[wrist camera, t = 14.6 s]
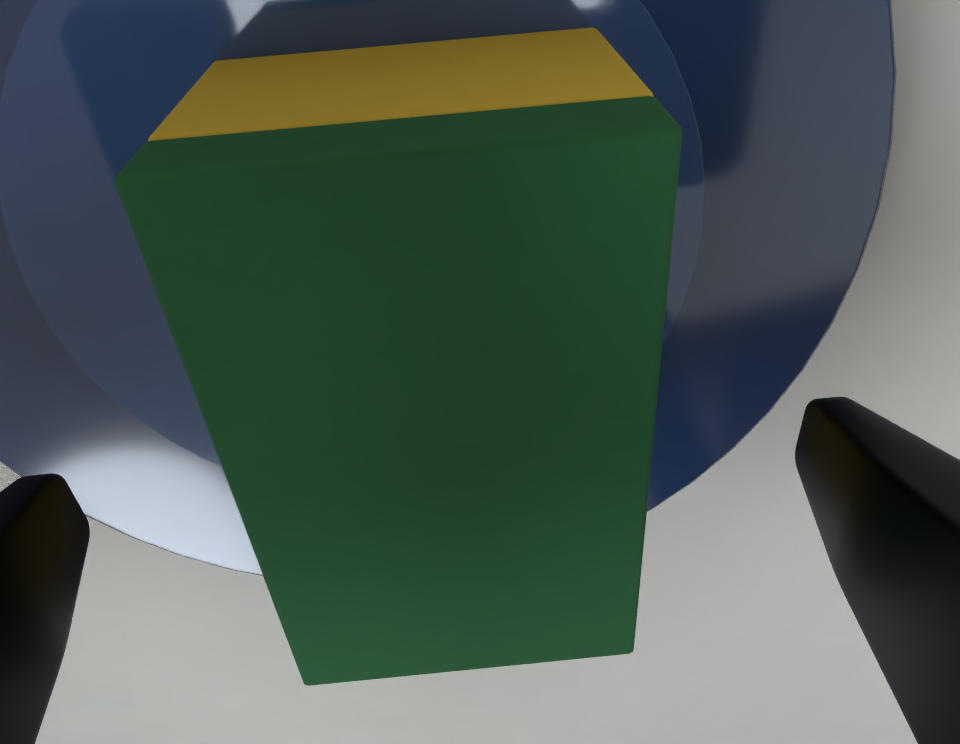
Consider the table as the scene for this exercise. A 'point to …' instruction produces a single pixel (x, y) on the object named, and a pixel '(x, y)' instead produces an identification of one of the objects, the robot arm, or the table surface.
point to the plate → (392, 21)
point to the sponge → (424, 336)
